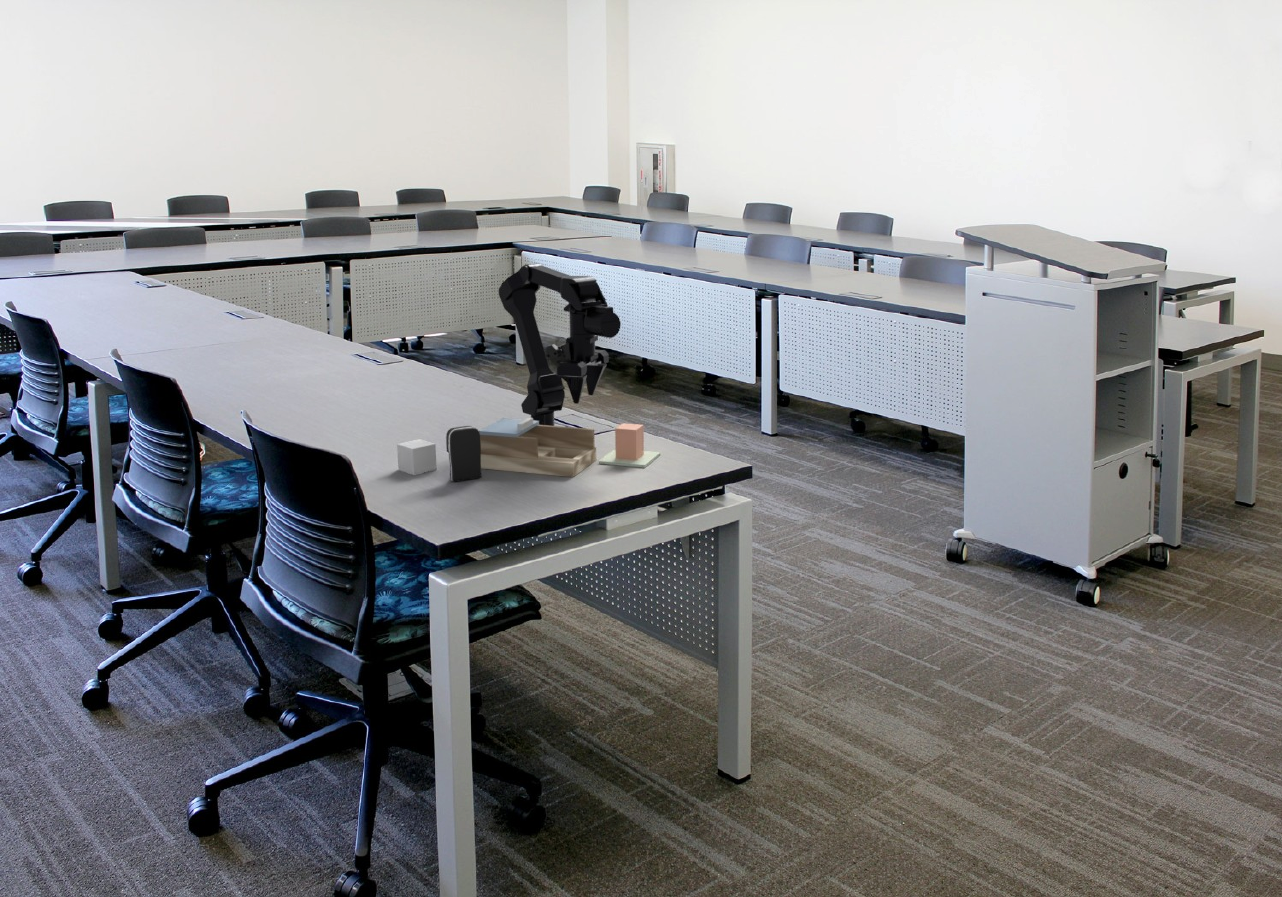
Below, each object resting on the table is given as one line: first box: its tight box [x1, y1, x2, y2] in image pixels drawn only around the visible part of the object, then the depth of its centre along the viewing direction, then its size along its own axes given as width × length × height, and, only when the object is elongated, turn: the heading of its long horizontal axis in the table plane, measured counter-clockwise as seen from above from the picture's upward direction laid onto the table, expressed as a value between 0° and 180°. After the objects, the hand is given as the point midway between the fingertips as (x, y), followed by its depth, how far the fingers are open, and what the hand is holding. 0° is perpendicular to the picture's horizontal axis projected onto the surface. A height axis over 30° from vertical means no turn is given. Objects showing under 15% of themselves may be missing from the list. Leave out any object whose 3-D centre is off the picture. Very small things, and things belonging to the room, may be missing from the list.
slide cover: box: [478, 417, 539, 437], centre depth 263 cm, size 12×9×2 cm
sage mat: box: [598, 448, 661, 469], centre depth 266 cm, size 11×11×1 cm
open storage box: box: [480, 425, 597, 478], centre depth 262 cm, size 14×24×8 cm, turn 71°
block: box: [614, 422, 645, 460], centre depth 265 cm, size 5×5×7 cm
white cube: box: [396, 438, 438, 476], centre depth 258 cm, size 6×6×6 cm
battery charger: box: [445, 425, 482, 482], centre depth 251 cm, size 7×4×11 cm, turn 120°
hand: (583, 399), depth 272 cm, fingers open, 9 cm apart
